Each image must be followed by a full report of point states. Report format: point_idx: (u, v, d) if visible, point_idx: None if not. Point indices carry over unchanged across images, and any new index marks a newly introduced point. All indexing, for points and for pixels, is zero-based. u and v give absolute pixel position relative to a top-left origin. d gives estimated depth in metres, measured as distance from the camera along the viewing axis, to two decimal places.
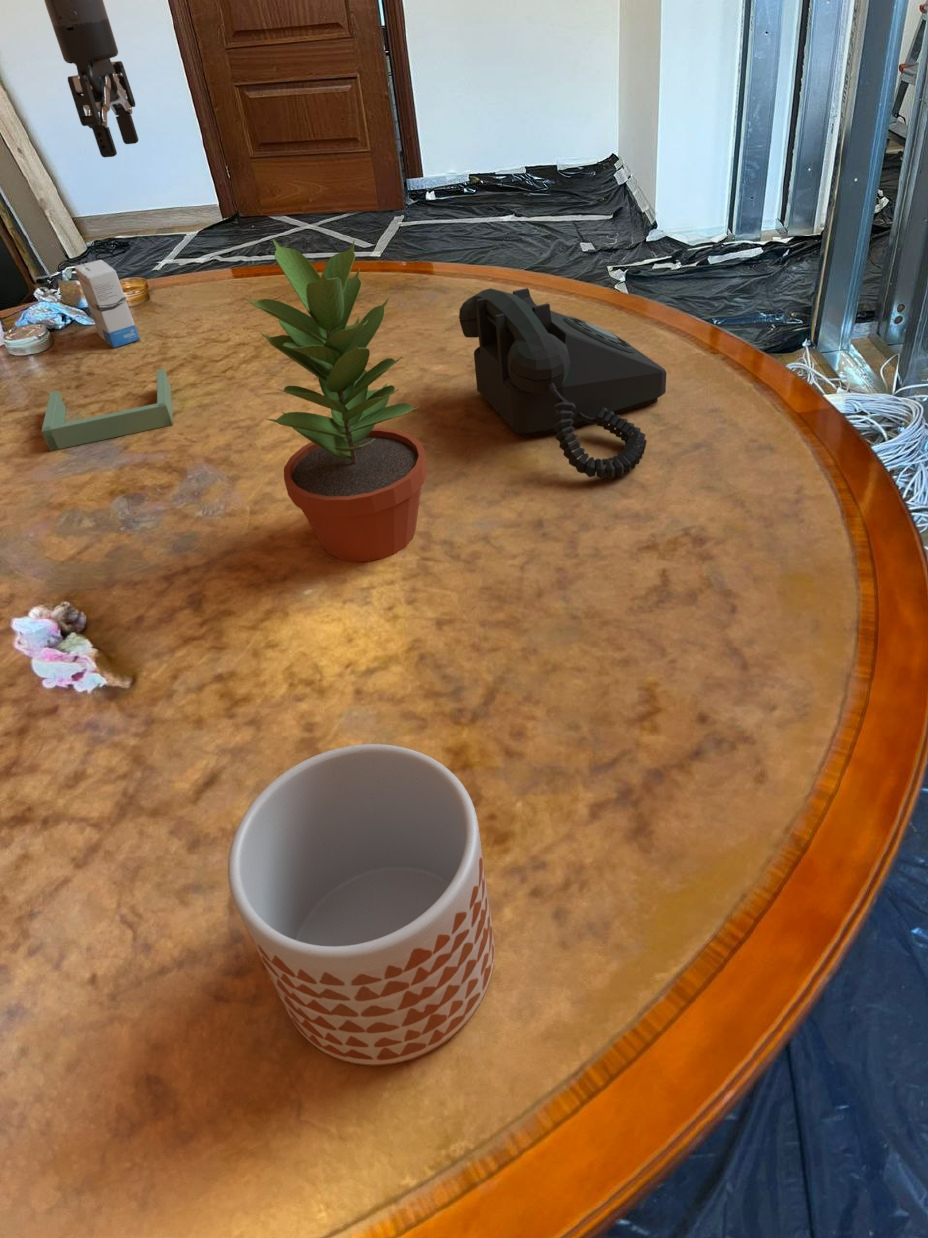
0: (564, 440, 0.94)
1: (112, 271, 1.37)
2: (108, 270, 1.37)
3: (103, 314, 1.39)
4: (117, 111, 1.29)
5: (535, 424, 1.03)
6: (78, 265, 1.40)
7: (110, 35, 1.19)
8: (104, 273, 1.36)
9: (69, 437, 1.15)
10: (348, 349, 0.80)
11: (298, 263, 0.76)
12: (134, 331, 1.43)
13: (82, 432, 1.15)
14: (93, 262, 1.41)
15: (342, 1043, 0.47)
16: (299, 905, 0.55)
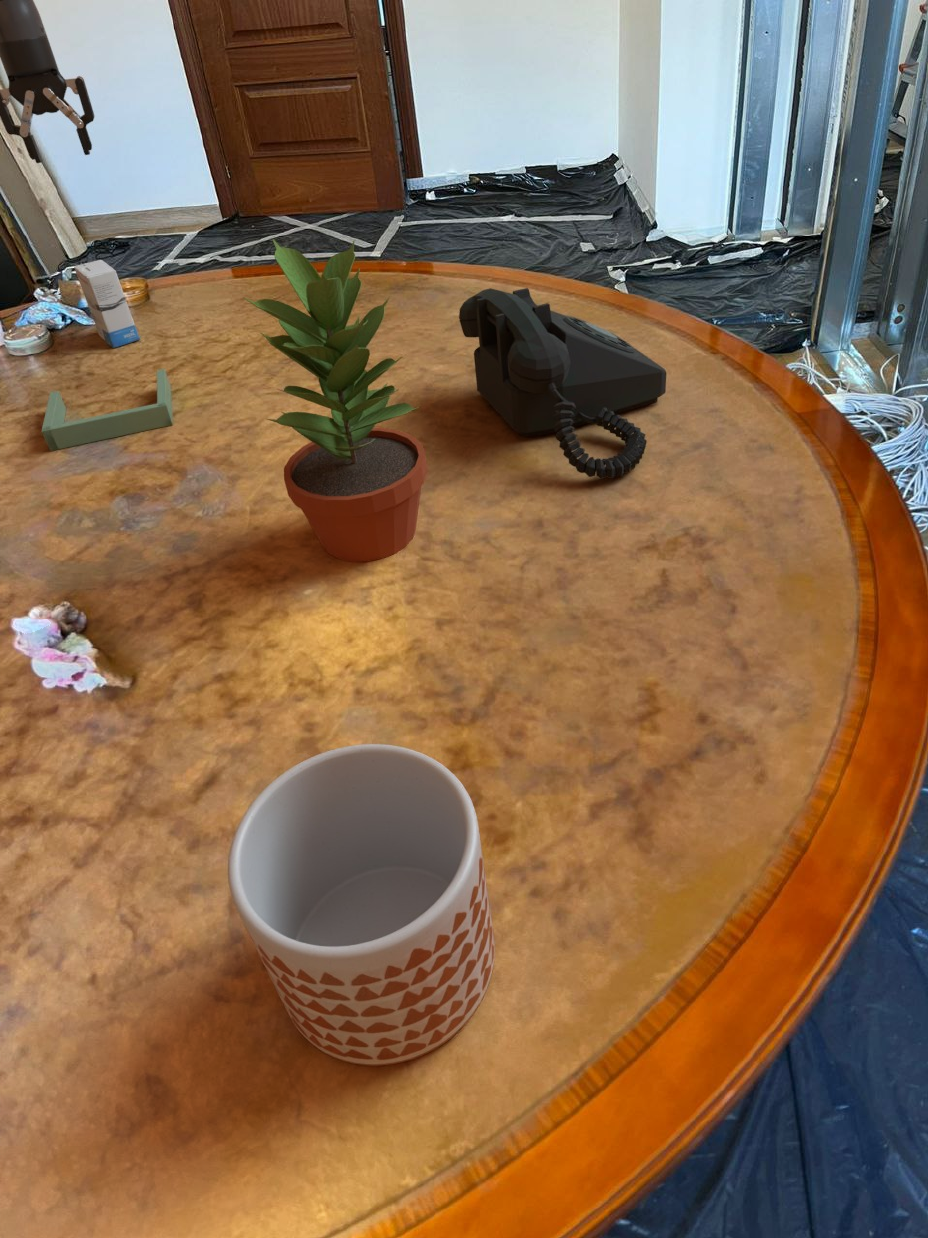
0: (564, 440, 0.94)
1: (112, 271, 1.37)
2: (108, 270, 1.37)
3: (103, 314, 1.39)
4: None
5: (535, 424, 1.03)
6: (78, 265, 1.40)
7: (22, 55, 1.26)
8: (104, 273, 1.36)
9: (69, 437, 1.15)
10: (348, 349, 0.80)
11: (297, 263, 0.76)
12: (134, 331, 1.43)
13: (82, 432, 1.15)
14: (93, 262, 1.41)
15: (342, 1043, 0.47)
16: (299, 905, 0.55)
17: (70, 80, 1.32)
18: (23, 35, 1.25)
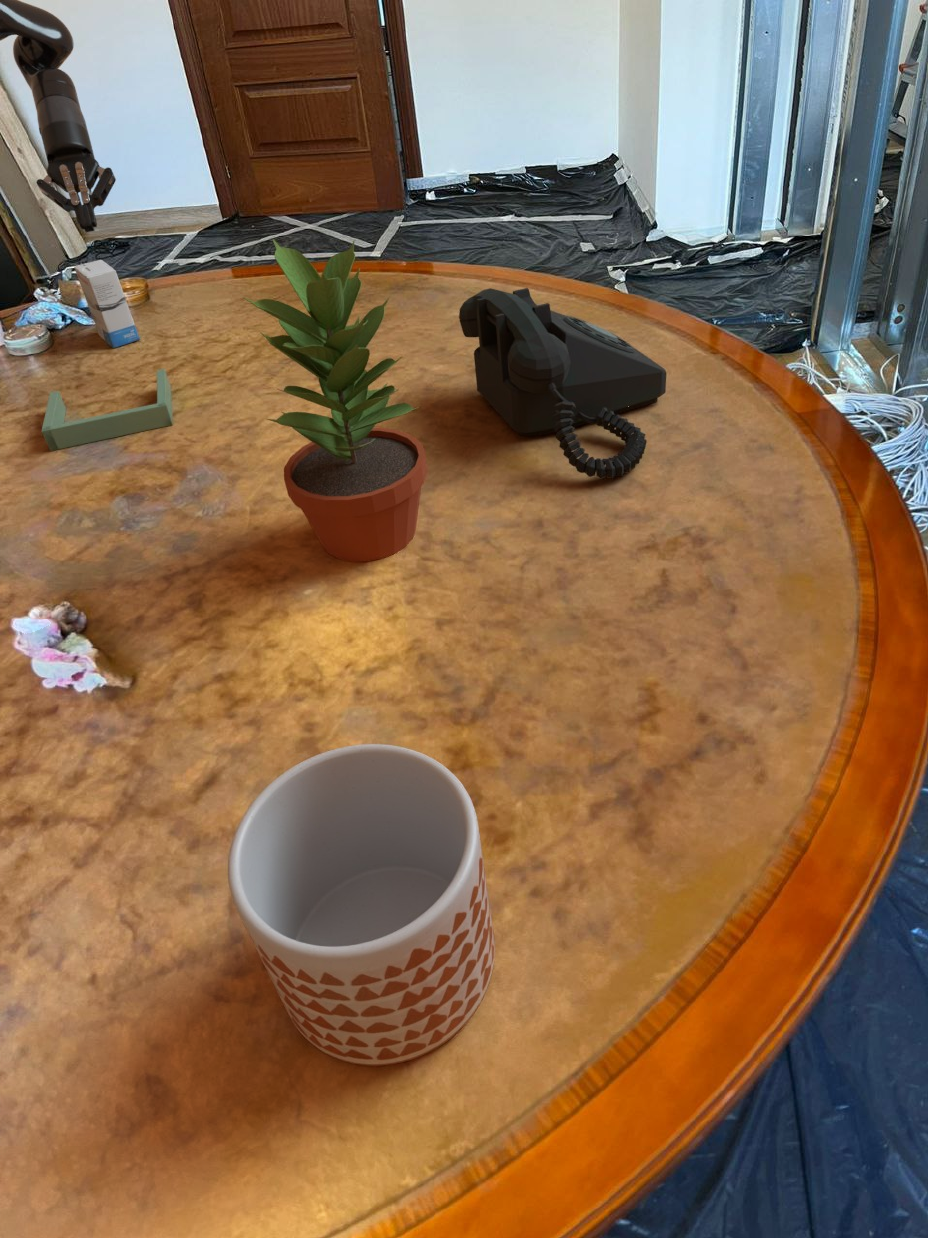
0: (564, 440, 0.94)
1: (112, 271, 1.37)
2: (108, 270, 1.37)
3: (103, 314, 1.39)
4: None
5: (535, 424, 1.03)
6: (78, 265, 1.40)
7: (60, 131, 1.41)
8: (104, 273, 1.36)
9: (69, 437, 1.15)
10: (348, 349, 0.80)
11: (297, 263, 0.76)
12: (134, 331, 1.43)
13: (82, 432, 1.15)
14: (93, 262, 1.41)
15: (342, 1043, 0.47)
16: (299, 905, 0.55)
17: (103, 168, 1.44)
18: (63, 117, 1.41)
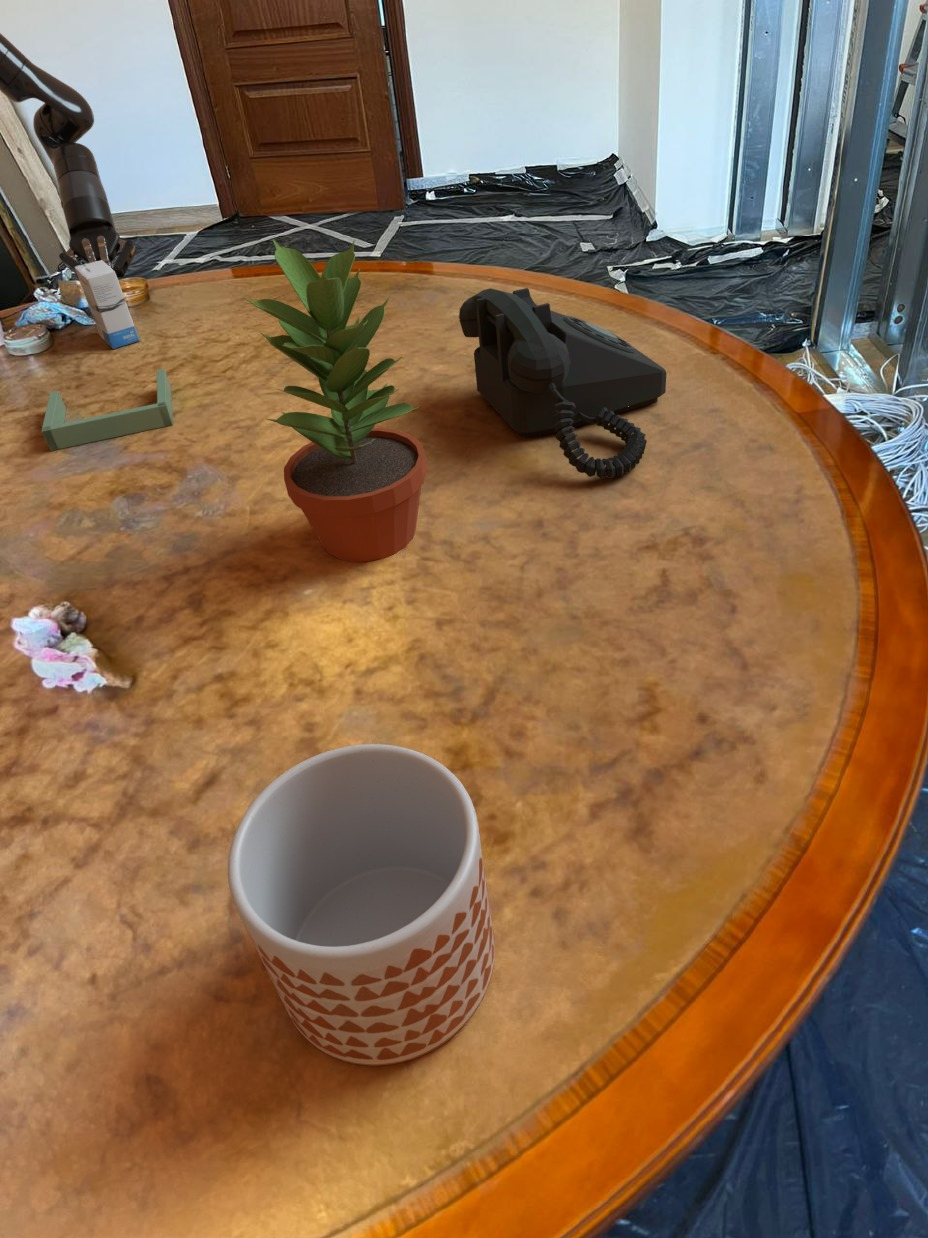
0: (564, 440, 0.94)
1: (111, 272, 1.36)
2: (107, 271, 1.36)
3: (102, 315, 1.38)
4: None
5: (535, 424, 1.03)
6: (79, 265, 1.40)
7: (82, 206, 1.44)
8: (103, 274, 1.36)
9: (69, 437, 1.15)
10: (348, 349, 0.80)
11: (298, 263, 0.76)
12: (133, 333, 1.42)
13: (82, 432, 1.15)
14: (94, 263, 1.41)
15: (342, 1043, 0.47)
16: (299, 905, 0.55)
17: (124, 241, 1.47)
18: (85, 193, 1.44)
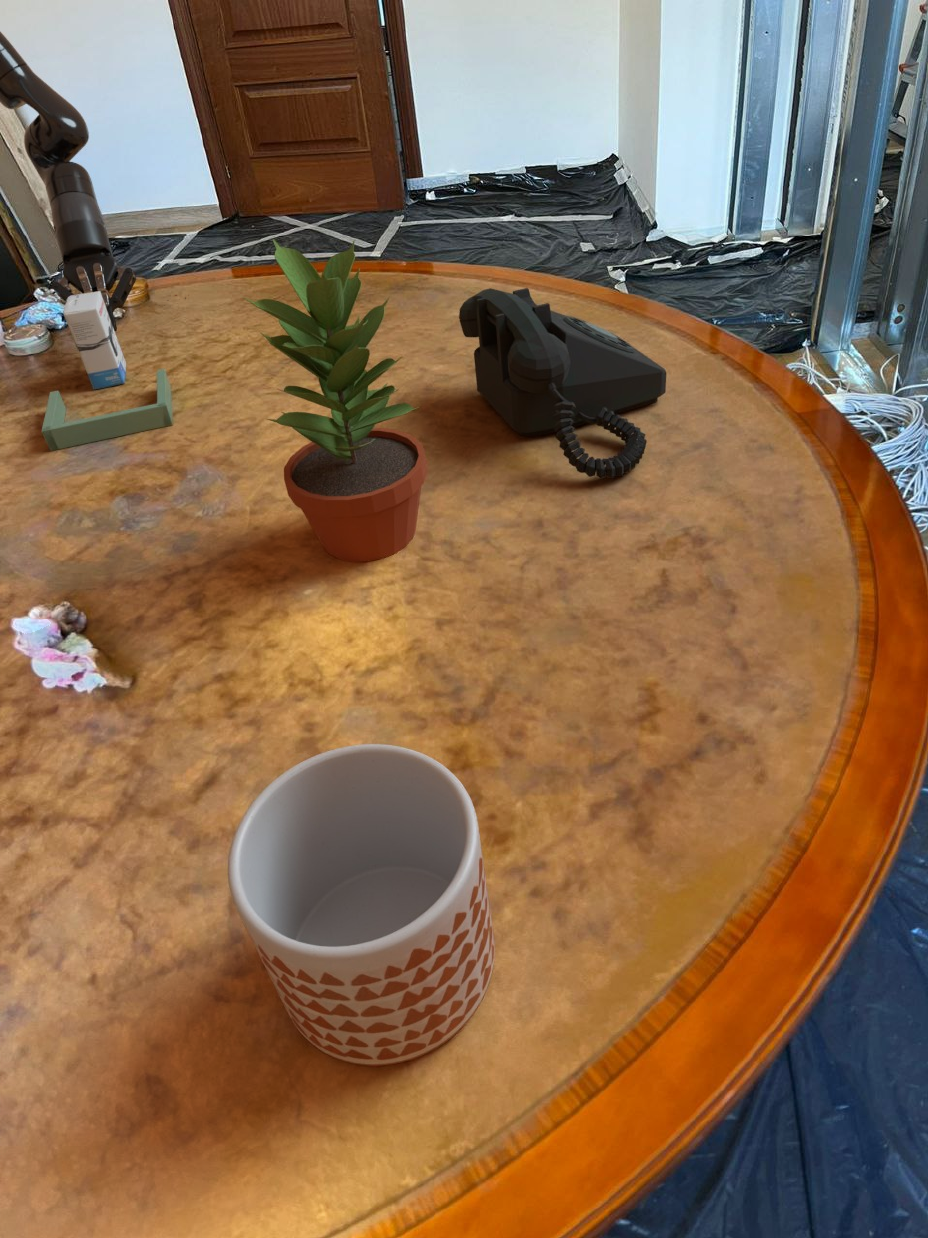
0: (564, 440, 0.94)
1: (92, 309, 1.23)
2: (89, 308, 1.23)
3: (81, 354, 1.26)
4: None
5: (535, 424, 1.03)
6: (73, 295, 1.28)
7: (76, 231, 1.31)
8: (83, 311, 1.23)
9: (69, 437, 1.15)
10: (348, 349, 0.80)
11: (298, 263, 0.76)
12: (117, 375, 1.29)
13: (82, 432, 1.15)
14: (89, 293, 1.28)
15: (342, 1043, 0.47)
16: (299, 905, 0.55)
17: (122, 268, 1.35)
18: (80, 216, 1.32)
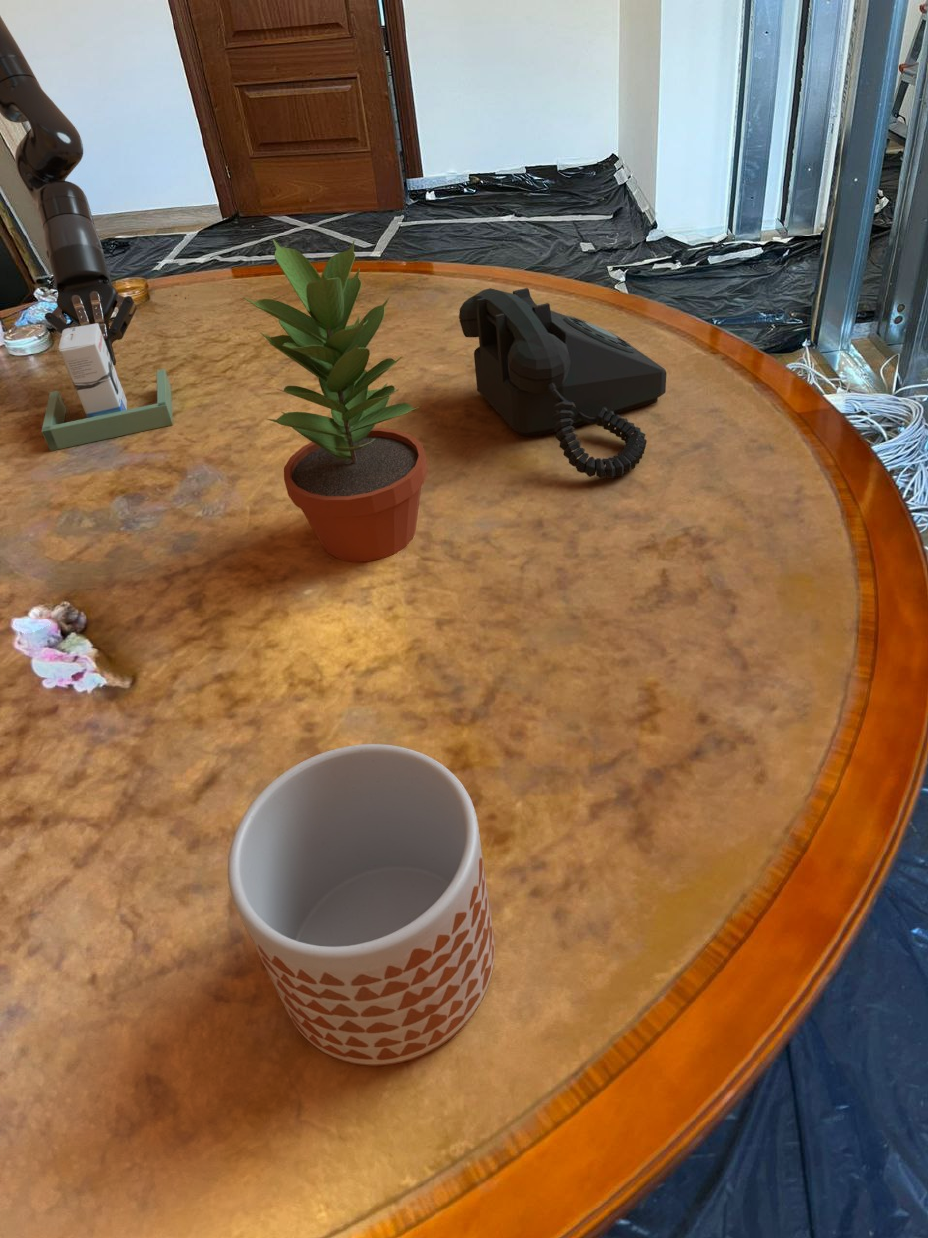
0: (564, 440, 0.94)
1: (91, 345, 1.12)
2: (88, 343, 1.12)
3: (79, 393, 1.15)
4: None
5: (535, 424, 1.03)
6: (68, 328, 1.17)
7: (71, 257, 1.20)
8: (81, 347, 1.12)
9: (69, 437, 1.15)
10: (348, 349, 0.80)
11: (297, 263, 0.76)
12: None
13: (82, 432, 1.15)
14: (86, 326, 1.17)
15: (342, 1043, 0.47)
16: (299, 905, 0.55)
17: (122, 297, 1.24)
18: (75, 241, 1.20)
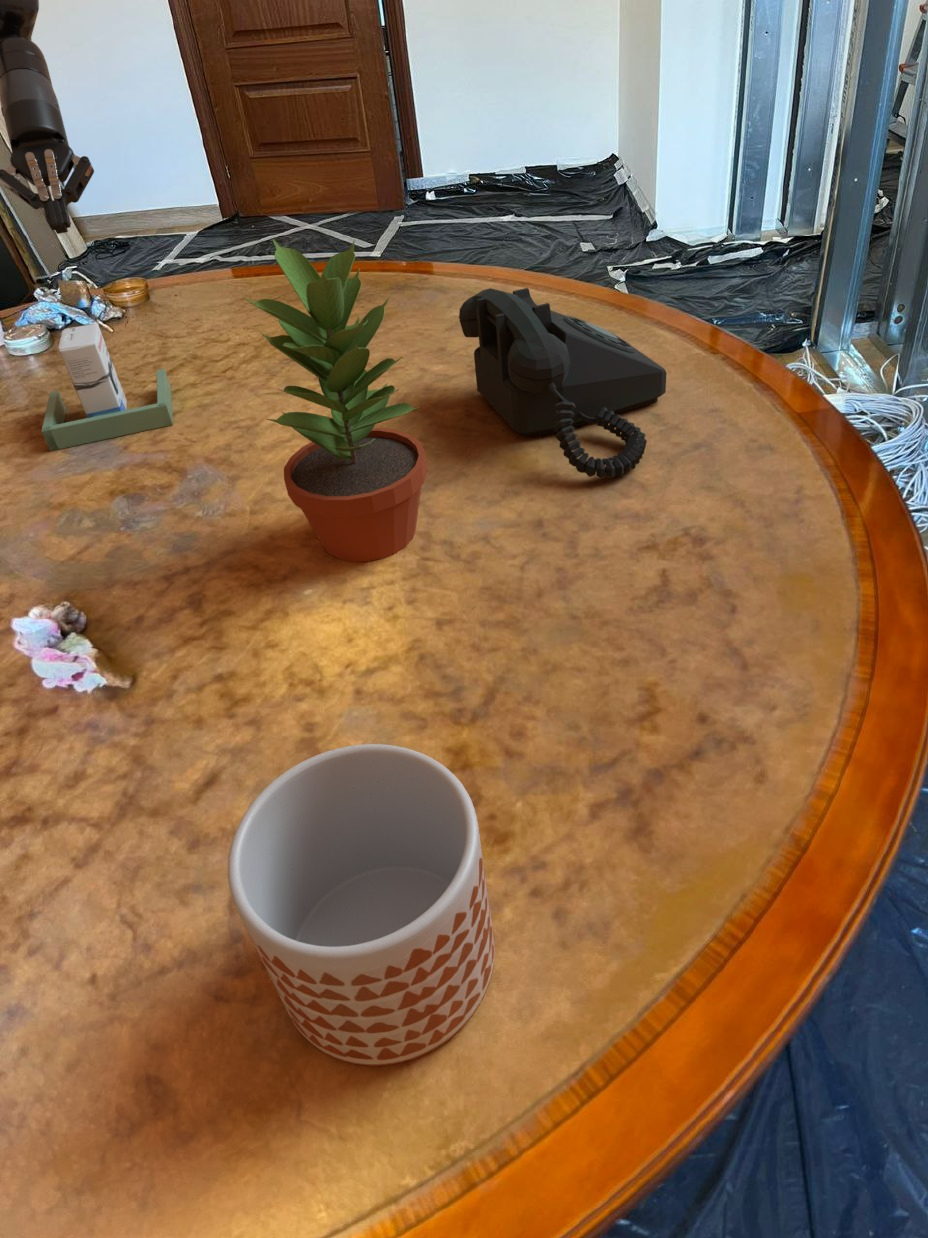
0: (564, 440, 0.94)
1: (91, 345, 1.12)
2: (88, 343, 1.12)
3: (79, 393, 1.15)
4: None
5: (535, 424, 1.03)
6: (68, 329, 1.17)
7: (25, 111, 1.16)
8: (81, 347, 1.12)
9: (69, 437, 1.15)
10: (348, 349, 0.80)
11: (297, 263, 0.76)
12: None
13: (82, 432, 1.15)
14: (86, 326, 1.17)
15: (342, 1043, 0.47)
16: (299, 905, 0.55)
17: (78, 157, 1.20)
18: (30, 95, 1.17)
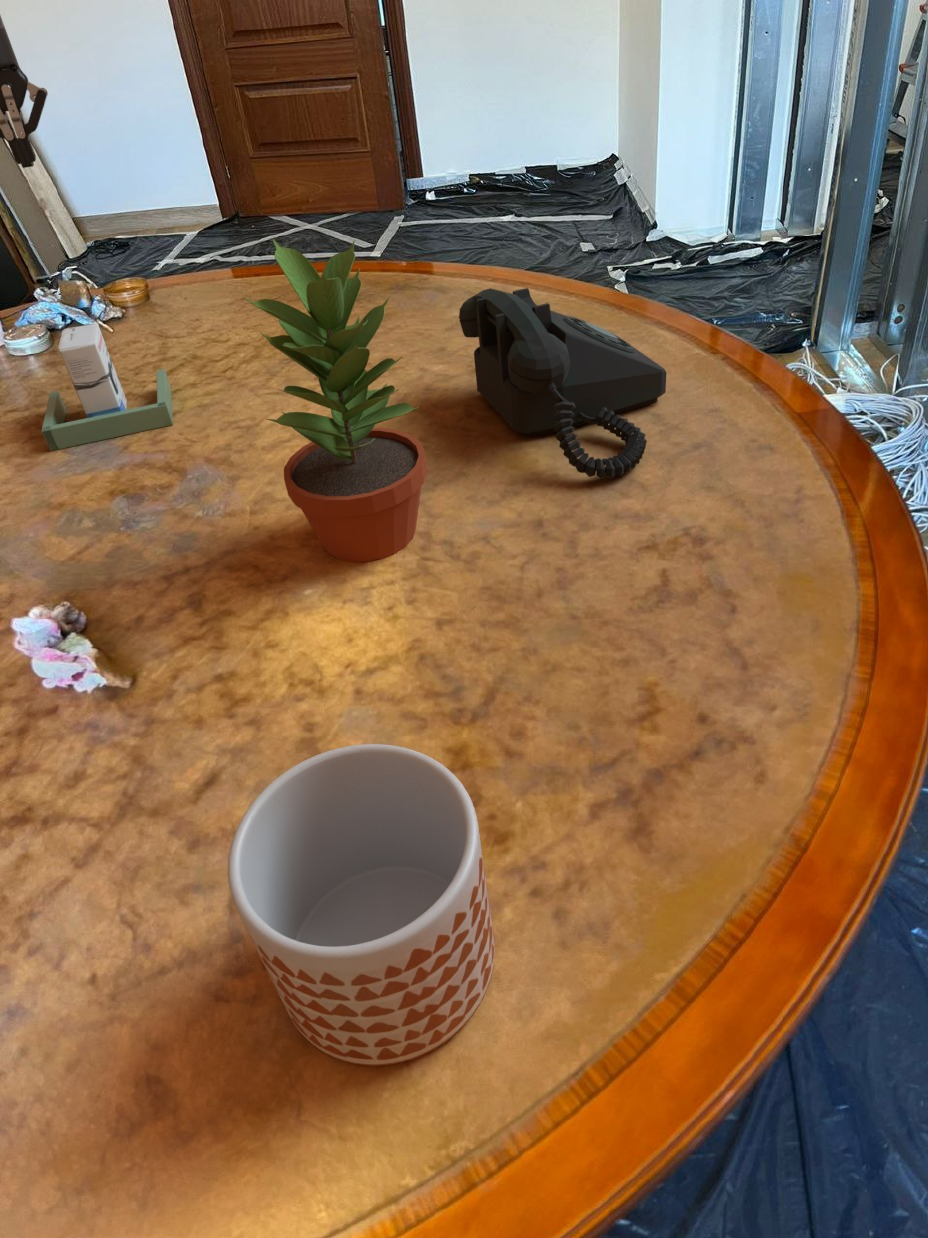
0: (564, 440, 0.94)
1: (91, 345, 1.12)
2: (88, 343, 1.12)
3: (79, 393, 1.15)
4: None
5: (535, 424, 1.03)
6: (68, 328, 1.17)
7: None
8: (81, 347, 1.12)
9: (69, 437, 1.15)
10: (348, 349, 0.80)
11: (297, 263, 0.76)
12: None
13: (82, 432, 1.15)
14: (86, 326, 1.17)
15: (342, 1043, 0.47)
16: (299, 905, 0.55)
17: (33, 86, 1.23)
18: None
